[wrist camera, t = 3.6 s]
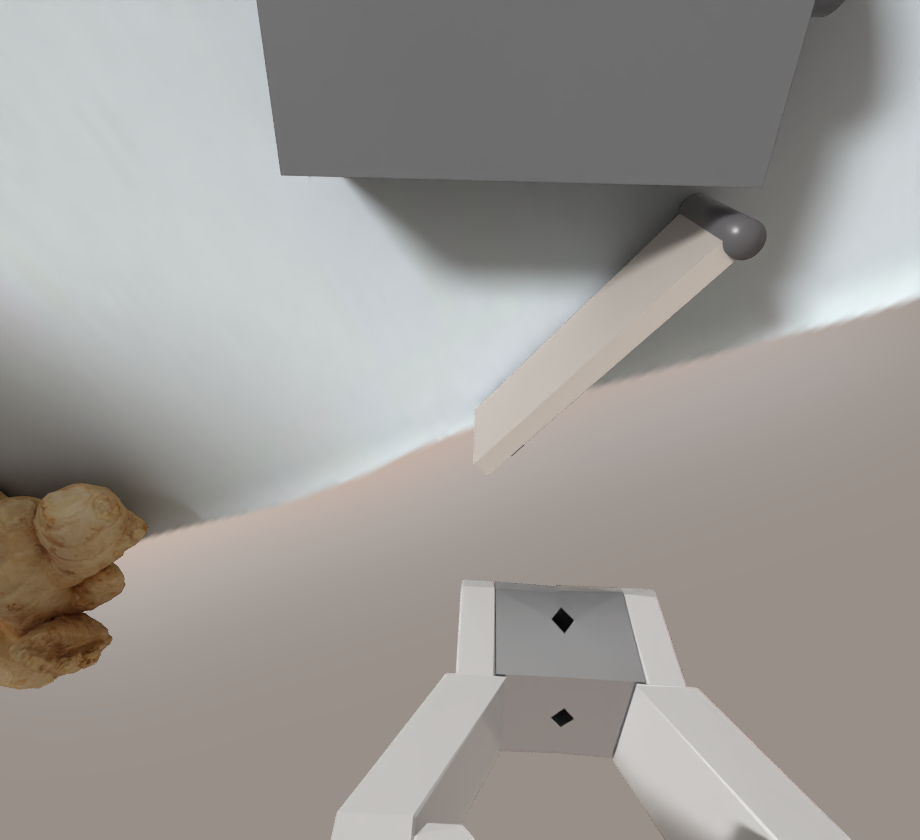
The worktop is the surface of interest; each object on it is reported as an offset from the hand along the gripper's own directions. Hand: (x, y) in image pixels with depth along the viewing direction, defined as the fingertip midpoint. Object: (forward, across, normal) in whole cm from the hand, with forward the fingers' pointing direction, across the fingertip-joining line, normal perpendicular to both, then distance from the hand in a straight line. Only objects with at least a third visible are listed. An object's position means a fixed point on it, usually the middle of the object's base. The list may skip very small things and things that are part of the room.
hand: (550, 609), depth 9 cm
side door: (+16, -3, +1) cm, 16 cm away
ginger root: (+16, +26, +16) cm, 35 cm away
